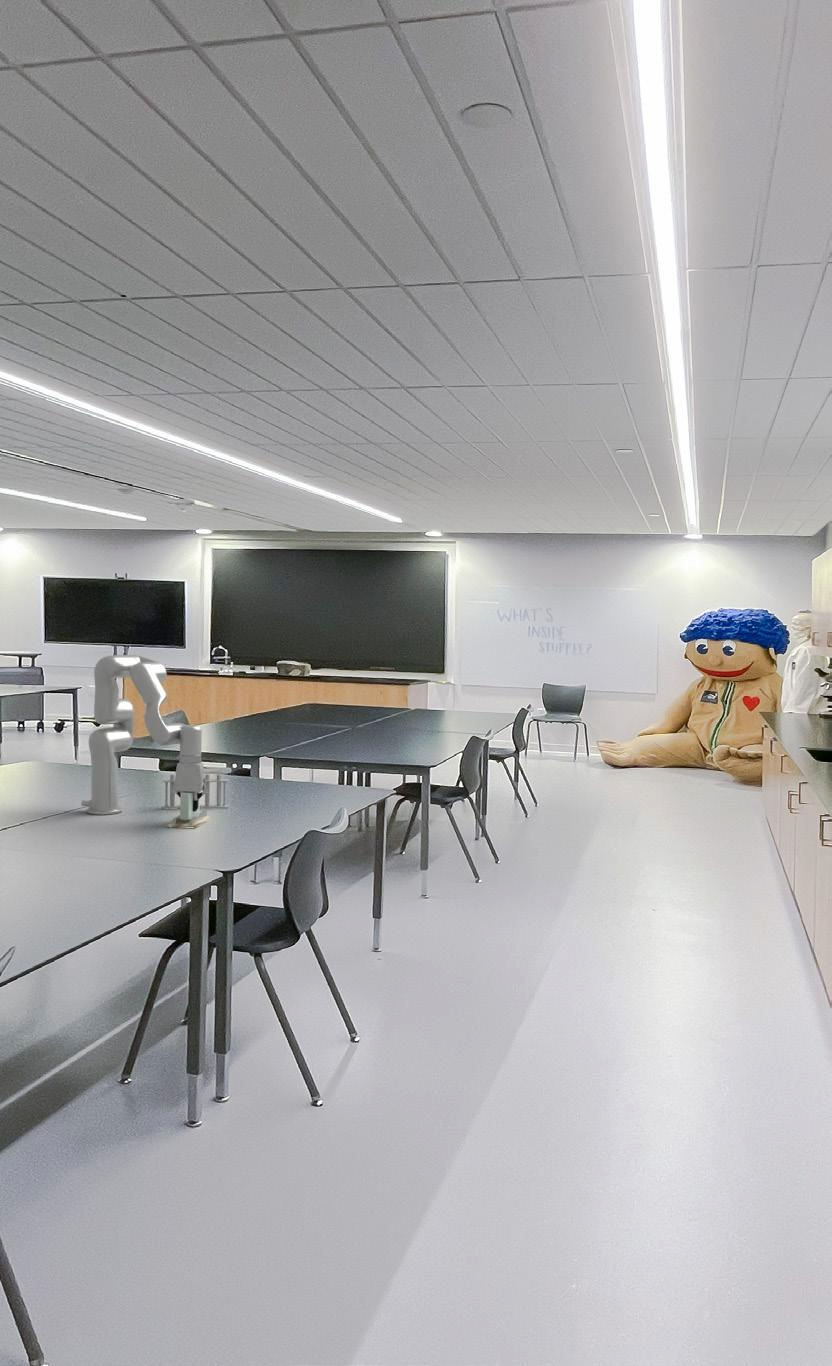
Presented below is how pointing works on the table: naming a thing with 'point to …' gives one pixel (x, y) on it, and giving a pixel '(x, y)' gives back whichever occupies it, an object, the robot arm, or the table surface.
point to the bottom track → (190, 821)
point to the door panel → (187, 806)
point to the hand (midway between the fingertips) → (190, 810)
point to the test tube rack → (207, 796)
